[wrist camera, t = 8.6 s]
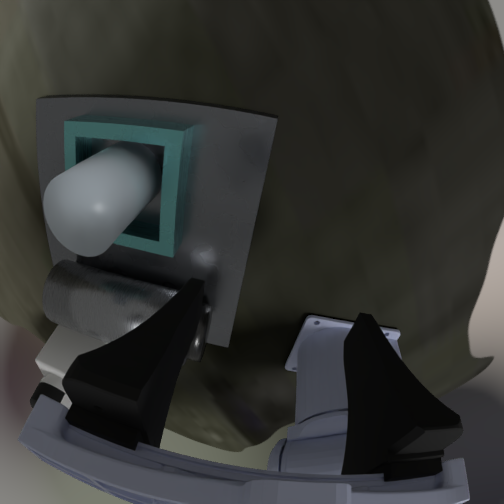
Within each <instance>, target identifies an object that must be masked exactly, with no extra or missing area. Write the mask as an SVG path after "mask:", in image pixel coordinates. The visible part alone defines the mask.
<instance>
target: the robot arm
mask: <svg viewBox="0 0 504 504" xmlns="http://www.w3.org/2000/svg"><path fill="white" fill-rule="evenodd" d="M204 286H205V281H204V280H200V279H196V278H190V279H189V280H188V281H187V282H186V283H185V285H184V286H183V287H182V288H181V289H180V290H179V291H178V292H177V293H176V294H175V295H174V296H173V297H172V298H171V299H170V300H169V301H168V302H167V303H166V304H165V305H164V306H163V307H161V308H160V309H159V310H158V311H157V312H156V313H154V314H153V315H152V316H151V317H150V318H148V319H147V320H146V321H144V322H143V323H141V324H140V325H139V326H137V327H136V328H134V329H133V330H131V331H129V332H128V333H126V334H125V335H123V336H121V337H119V338H117V339H116V340H114V341H111V342H109V343H107V344H105V345H103V346H101V347H99V348H97V349H94V350H91V351H89V352H86V353H83V354H80V355H78V356H77V357H76V359H75V360H74V361H73V363H72V364H71V365H70V367H69V369H68V370H67V372H66V374H65V376H64V378H63V379H62V386H63V388H64V390H65V392H66V394H67V396H68V397H69V399H70V401H71V402H72V404H71V407H70V409H68V408H67V407H66V406H64V405H63V404H61V403H59V402H57V401H55V400H53V399H51V398H49V397H47V396H45V395H43V394H42V395H40V397H39V398H38V400H37V402H36V404H35V406H34V408H33V410H32V412H31V414H30V415H29V417H28V419H27V421H26V423H25V425H24V427H23V429H22V431H21V433H20V436H19V438H18V441H19V442H20V443H21V444H22V445H24V446H25V447H26V448H27V449H28V450H30V451H31V452H32V453H33V454H34V455H36V456H37V457H38V458H39V459H41V460H42V461H44V462H46V463H47V464H49V465H51V466H53V467H55V468H57V469H58V470H61V471H62V472H64V473H66V474H68V475H70V476H72V477H74V478H76V479H78V480H80V481H82V482H84V483H86V484H88V485H90V486H92V487H95V488H97V489H99V490H101V491H103V492H106V493H108V494H110V495H113V496H115V497H118V498H120V499H123V500H126V501H128V502H131V503H133V504H462V503H464V502H466V501H468V500H469V499H470V495H469V488H468V482H467V475H466V470H465V464H464V459H463V458H457V459H452V460H447V461H444V462H441V457H443V456H444V450H443V449H445V448H446V447H447V446H449V445H450V444H452V443H453V442H455V441H456V440H457V439H458V438H459V437H460V436H461V435H462V433H463V427H462V423H461V419H460V416H459V415H458V414H456V413H455V412H454V411H452V410H451V409H450V408H448V407H447V406H445V405H444V404H443V403H442V402H440V401H439V400H438V399H437V398H436V397H435V396H434V395H432V394H431V393H430V392H429V391H428V390H427V389H426V388H425V387H424V386H423V385H422V384H421V383H420V382H419V381H418V379H417V378H416V377H415V376H414V375H413V374H412V372H411V371H410V370H409V369H408V368H407V366H406V365H405V364H404V362H403V361H402V358H401V354H400V350H399V347H398V343H397V339H398V338H399V336H400V331H399V330H397V329H390V328H384V327H379V325H378V324H377V322H376V321H375V319H374V318H373V316H372V315H371V314H365V313H359V315H358V317H357V319H356V321H355V322H348V321H342V320H336V319H331V318H325V317H320V316H315V315H309V316H307V317H306V319H305V321H304V324H303V326H302V328H301V330H300V333H299V335H298V337H297V340H296V342H295V344H294V346H293V348H292V351H291V353H290V355H289V357H288V359H287V362H286V364H285V369H286V370H289V371H295V372H297V388H296V416H295V426H291V427H288V432H287V438H284V439H281V440H279V441H278V443H277V444H276V445H275V447H274V448H273V449H272V451H271V453H270V456H269V460H268V466H267V470H259V469H252V468H245V467H239V466H233V465H228V464H222V463H217V462H212V461H207V460H202V459H198V458H194V457H190V456H186V455H182V454H178V453H174V452H170V451H167V450H163V449H160V448H159V447H160V443H161V439H162V434H163V430H164V426H165V422H166V418H167V414H168V410H169V406H170V402H171V399H172V395H173V391H174V388H175V384H176V381H177V378H178V375H179V372H180V369H181V367H182V365H183V362H184V360H185V357H186V355H187V353H188V350H189V348H190V345H191V343H192V341H193V338H194V336H195V333H196V330H197V327H198V324H199V320H200V317H201V313H202V304H203V295H204ZM315 321H318V322H315Z"/></svg>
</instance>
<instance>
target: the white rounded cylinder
mask: <svg viewBox="0 0 504 504" xmlns="http://www.w3.org/2000/svg"><path fill="white" fill-rule="evenodd" d="M161 181H162V173H161V168H160V165H159V162H158V160H157V158H156V157H155V155H154V154H153V153H152V151H151V150H150V149H148V148H147V147H146V146H144V145H143V144H141V143H138V142H129V141H121V142H118V143H116V144H114V145H112V146H110V147H108V148H106V149H104V150H102V151H100V152H98V153H96V154H95V155H93V156H91V157H89V158H87V159H85V160H84V161H82V162H80V163H78V164H77V165H75V166H73V167H71V168H70V169H68V170H66V171H65V172H63V173H61V174H60V175H58V176H56V177H55V178H53V179H52V180H51V181H50V183H49V184H48V186H47V188H46V190H45V193H44V200H43V207H44V214H45V218H46V220H47V223H48V225H49V228H50V229H51V231H52V233H53V234H54V236H55V237H56V238H57V239H58V241H59V242H60V243H61V244H62V245H63V246H65V247H66V248H67V249H69V250H70V251H72V252H74V253H76V254H78V255H81V256H87V257H93V256H97V255H100V254H102V253H104V252H105V251H106V250H107V249H108V248H109V247H110V245H111V244H112V243H113V242H114V241H115V240H116V239H117V237H118V236H119V235H120V234H121V233H122V232H123V231H124V230H125V229H126V227H127V226H128V225H129V224H130V223H131V222H132V221H133V220H134V219H135V218H136V217H137V215H138V214H139V213H140V212H141V211H142V210H143V209H144V208H145V207H146V206H147V205H148V204H149V203H150V202H151V201H152V200H153V199H154V198H155V196H156V195H157V194H158V192H159V189H160V186H161Z"/></svg>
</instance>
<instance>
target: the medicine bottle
mask: <svg viewBox="0 0 504 504" xmlns="http://www.w3.org/2000/svg"><path fill="white" fill-rule="evenodd" d="M105 344H107V343H106V342H103V341H101V340H98V339H95V338H92V337H90V336H87V335H84V334H82V333H79V332H76V331H74V330H71V329H69V328H66V327H64V326H61V325H58V326H57V327H56V329H55V330H54V332H53V333H52V335H51V336H50V338H49V339H48V341H47V342H46V344H45V345H44V347H43V348H42V350H41V351H40V353H39V354H38V356H37V357H36V359H35V360H36V363H37V365H38V367H39V368H40V370H41V372H42V374H43V375H44V378H42V380H41V381H40V383H39V385H38V386H37V388H36V390H35V392H34V394H33V396H32V397H31V399H30V403H31V406H32V408H34V406H35V404H36V402H37V400H38V398H39V397H40V395H42V394H43V395H45V396H47V397H49V398H51V399H53V400H55V401H57V402H59V403H61V404H63V405H64V406H66V407H67V408H68V409H70V407H71V404H72V402H71V401H70V399H69V397H68V396H67V394H66V392H65V390H64V388H63V386H62V379H63V378H64V376H65V374H66V372H67V370H68V369H69V367H70V365H71V364H72V363H73V361H74V360H75V359H76V357H77V356H78V355H80V354H83V353H86V352H89V351H91V350H94V349H97V348H99V347H101V346H103V345H105Z"/></svg>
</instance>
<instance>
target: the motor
mask: <svg viewBox="0 0 504 504" xmlns="http://www.w3.org/2000/svg"><path fill="white" fill-rule="evenodd" d="M277 120H278V116H277V115H272V114H267V113H262V112H257V111H252V110H247V109H241V108H235V107H229V106H223V105H217V104H210V103H203V102H195V101H187V100H177V99H168V98H156V97H143V96H124V95H53V96H45V97H42V98H38V99H36V138H37V158H38V171H39V182H40V191H41V199H42V207H43V200H44V193H45V190H46V188H47V186H48V184H49V183H50V181H51V180H52V179H53V178H55V177H56V176H58V175H60V174H61V173H63V172H65V171H66V170H68V169H70V168H71V167H73V166H75V165H77V164H78V163H80V162H82V161H84V160H85V159H87V158H89V157H91V156H93V155H95V154H96V153H98V152H100V151H102V150H104V149H106V148H108V147H110V146H112V145H114V144H116V143H118V142H121V141H129V142H138V143H141V144H143V145H144V146H146V147H147V148H148V149H150V150H151V151H152V153H153V154H154V155H155V157H156V158H157V160H158V162H159V165H160V168H161V173H162V181H161V186H160V189H159V192H158V194H157V195H156V196H155V198H154V199H153V200H152V201H151V202H150V203H149V204H148V205H147V206H146V207H145V208H144V209H143V210H142V211H141V212H140V213H139V214H138V215H137V217H136V218H135V219H134V220H133V221H132V222H131V223H130V224H129V225H128V226H127V227H126V229H125V230H124V231H123V232H122V233H121V234H120V235H119V236H118V237H117V239H116V240H115V241H114V242H113V243H112V244H111V245H110V247H109V248H108V249H107V250H106V251H105V252H104V253H102V254H100V255H97V256H93V257H87V256H81V255H78V254H76V253H74V252H72V251H70V250H69V249H67V248H66V247H65V246H63V245H62V244H61V243H60V242H59V241H58V239H57V238H56V237H55V236H54V234H53V233H52V231H51V229H50V228H49V225H48V223H47V220H46V218H45V214H44V207H43V214H44V220H45V226H46V232H47V237H48V242H49V247H50V252H51V257H52V262H53V266H54V267H53V268H52V270H51V271H50V273H49V275H48V277H47V279H46V282H45V285H44V290H43V309H44V312H45V315H46V317H47V318H48V319H49V320H50V321H52V322H54V323H56V324H59V325H61V326H64V327H66V328H69V329H71V330H74V331H76V332H79V333H82V334H84V335H87V336H90V337H92V338H95V339H98V340H101V341H103V342H106V343H109V342H111V341H114V340H116V339H117V338H119V337H121V336H123V335H125V334H126V333H128V332H129V331H131V330H133V329H134V328H136V327H137V326H139V325H140V324H141V323H143V322H144V321H146V320H147V319H148V318H150V317H151V316H152V315H153V314H154V313H156V312H157V311H158V310H159V309H160V308H161V307H163V306H164V305H165V304H166V303H167V302H168V301H169V300H170V299H171V298H172V297H173V296H174V295H175V294H176V293H177V292H178V291H179V290H180V289H181V288H182V287H183V286H184V285H185V283H186V282H187V281H188V280H189V279H190V278H196V279H200V280H204V281H205V286H204V295H203V304H202V313H201V317H200V320H199V324H198V327H197V330H196V333H195V336H194V338H193V341H192V343H191V345H190V348H189V350H188V353H187V355H186V357H185V360H184V362H183V365H184V364H185V363H186V360H187V359H189V360H193V361H197V362H201V360H202V357H203V354H204V350H205V347H206V343H210V344H214V345H219V346H223V347H228V346H229V342H230V337H231V332H232V328H233V323H234V318H235V314H236V309H237V304H238V300H239V295H240V290H241V286H242V281H243V277H244V272H245V267H246V263H247V258H248V253H249V249H250V244H251V240H252V235H253V230H254V226H255V221H256V216H257V212H258V207H259V203H260V198H261V193H262V189H263V184H264V180H265V175H266V170H267V166H268V161H269V157H270V152H271V148H272V143H273V138H274V134H275V129H276V125H277ZM183 365H182V366H183Z"/></svg>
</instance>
